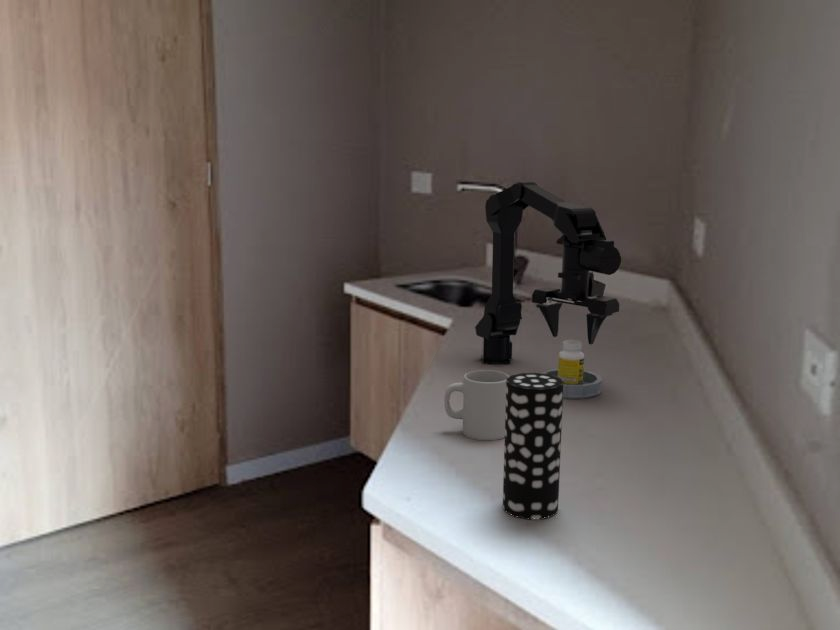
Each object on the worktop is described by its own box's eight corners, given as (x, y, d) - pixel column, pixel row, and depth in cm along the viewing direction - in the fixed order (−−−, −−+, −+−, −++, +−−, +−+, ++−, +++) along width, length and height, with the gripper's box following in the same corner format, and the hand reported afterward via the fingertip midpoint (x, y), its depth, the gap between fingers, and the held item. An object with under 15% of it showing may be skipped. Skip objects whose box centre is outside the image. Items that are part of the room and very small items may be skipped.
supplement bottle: (582, 390, 195) (584, 345, 192) (556, 388, 196) (558, 344, 193) (583, 383, 200) (585, 339, 198) (557, 381, 201) (559, 337, 199)
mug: (508, 425, 175) (509, 370, 173) (508, 441, 167) (510, 383, 164) (445, 423, 176) (445, 368, 173) (442, 439, 168) (443, 381, 165)
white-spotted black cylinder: (498, 497, 143) (501, 373, 138) (551, 495, 143) (556, 372, 139) (507, 520, 135) (511, 389, 130) (563, 518, 135) (569, 388, 131)
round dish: (543, 398, 191) (544, 386, 191) (535, 380, 204) (535, 368, 204) (606, 399, 191) (607, 386, 191) (594, 380, 204) (595, 368, 204)
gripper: (635, 268, 191) (631, 341, 194) (562, 258, 204) (559, 327, 207) (605, 275, 183) (601, 351, 187) (531, 264, 196) (528, 335, 199)
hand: (572, 340), depth 195 cm, fingers open, 9 cm apart
